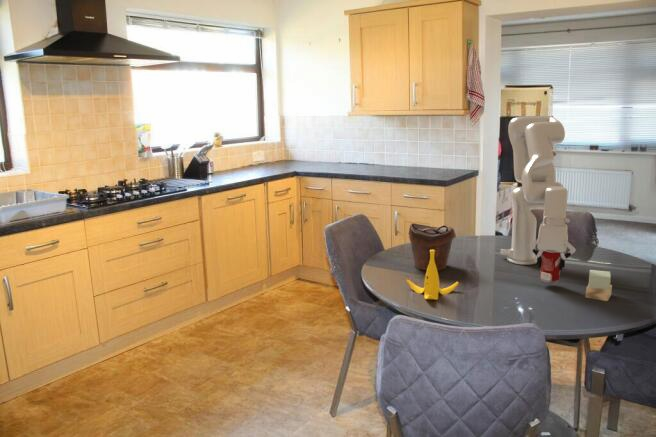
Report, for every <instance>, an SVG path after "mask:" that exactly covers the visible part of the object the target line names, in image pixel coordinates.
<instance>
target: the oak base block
mask: <svg viewBox="0 0 656 437" xmlns="http://www.w3.org/2000/svg"><path fill="white" fill-rule="evenodd" d="M612 289H613V284H610V290H606V289H597V288H589V283H588V284H587V286H586V287H585V298H588V299H592V300H593V299H594V300H598V301H604V302H607V301H609V299H610V298H611V296H612V291H613V290H612Z"/></svg>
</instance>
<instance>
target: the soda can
mask: <svg viewBox="0 0 656 437" xmlns="http://www.w3.org/2000/svg"><path fill="white" fill-rule="evenodd" d="M561 258H562V257H561V255H560V253H558V252H551V251H543V252H542V254H541V268H539V270H540V272H539V273H540V274H539V279H540V280H541V281H543V282H545V283H549V284H553V283H557V282H559V281H560V279H561V278H560V275H561V270H560V263H561Z"/></svg>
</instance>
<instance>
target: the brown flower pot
mask: <svg viewBox="0 0 656 437" xmlns="http://www.w3.org/2000/svg"><path fill="white" fill-rule="evenodd" d="M408 228H409V230H408V239H409V241H410V248H411V252H412V258H413V262H414V266H415V268H417V269H419V270H421V271H427V268H428V265H429V262H430V250H435V253H434V261H435V265H436V268H437V271H441V270H445V269H446V268H447V267H448V266H447V265H448V262H449V257H450V252H451V248H452V244H453V239H455V238H456V237H457V235H456V232H455V230H454V228H453V227H451V226H450V227H448V226H447V225H442V226H440V227H437V226H430V225H425V224H418V223H413V222H412V223H410V225H409V227H408Z"/></svg>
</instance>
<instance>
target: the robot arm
mask: <svg viewBox="0 0 656 437" xmlns="http://www.w3.org/2000/svg"><path fill="white" fill-rule="evenodd" d="M507 131H508V138H509V142H510V144H511V146H512V151H513V152H512V154H513V172H514V173H513V174H514V179H515V181H516V182H518V183H520V184H521V186H518V187H516V188H514V189H513V190H512V191H511V195H510V196H511V198H510V200H511V206H512V223H511V224H512V229H511V248H507V249H505V248H504V249H503V248H500V254H502V255H504V256H507V257H506V259H507V260H506V261H508V262H509V263H512V264H516V265H521V266H522V265H524V266H525V265H526V266H527V265H529V266H530V265H536V266H537V265H538V268H539V269H541V255H542V252H543V251H551V252H558V253H560V255H561V263H560V271H563V268H565V267H566V259H568V258H570V257H571V256H572V255H573V254H574V253H575V252H576V248H575V247H574V246H573V245H572V244H571V243H570V242H569V230H568V229H569V228H568V224H567V223H571V222H570V220H571V219H570V218H567V206H568V205H567V204H568V192H569V191H568V189H567V188H566V187H564V185H563V184H562V183H561V182H560V181H559V182H557V181H556V168H555V164H554V163H553V162H552V161H553V160H554V152H553V148H552V144H553V145H555V144H556V145H557V144H561V143H562V142H563V141H564V140H565V135H566V131H565V127H564V124H563V123H562V122H561V121H560V120H558V119H557V118H555V117H553V116H551V115H526V116H525V115H523V116H517V117H513V118H512V119H510V121H509V122H508V130H507ZM532 210H533V211H534V210H543V215H542V222H540V224H539V228H538V235H537V225H538V223H537V218H536V216H535V215H534V213H533V212H532ZM536 238H537V239H536ZM536 247H537V248H536ZM568 249H569V251H568V252H567V250H568Z"/></svg>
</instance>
